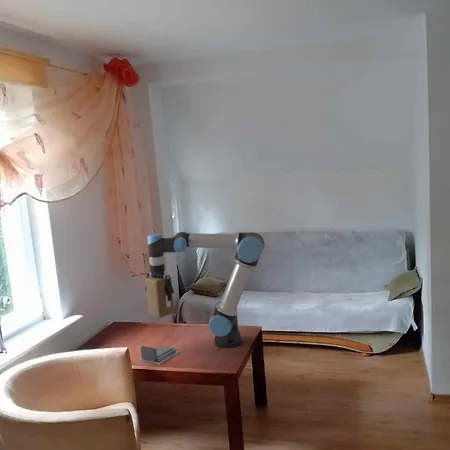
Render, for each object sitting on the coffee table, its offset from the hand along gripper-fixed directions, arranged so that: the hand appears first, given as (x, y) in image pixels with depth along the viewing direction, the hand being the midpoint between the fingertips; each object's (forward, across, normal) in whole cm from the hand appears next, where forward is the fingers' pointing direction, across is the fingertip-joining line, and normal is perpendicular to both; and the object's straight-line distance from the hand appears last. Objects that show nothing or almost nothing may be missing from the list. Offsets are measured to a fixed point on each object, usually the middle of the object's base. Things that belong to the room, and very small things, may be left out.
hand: (160, 305), depth 283 cm
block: (+5, 0, 0) cm, 5 cm away
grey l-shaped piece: (+26, -1, +4) cm, 27 cm away
